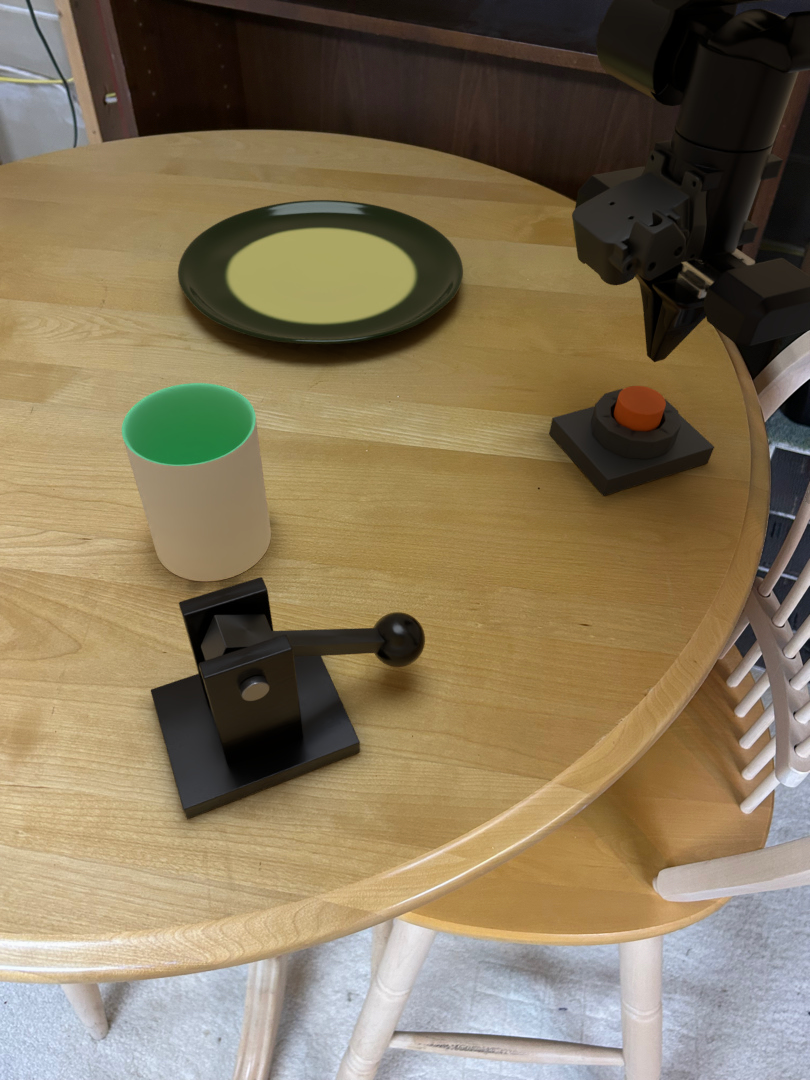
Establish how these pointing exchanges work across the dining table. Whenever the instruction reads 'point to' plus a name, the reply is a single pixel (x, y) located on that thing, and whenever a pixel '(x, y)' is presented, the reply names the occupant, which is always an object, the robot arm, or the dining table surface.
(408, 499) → the dining table surface
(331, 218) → the plate
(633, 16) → the robot arm
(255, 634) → the lever
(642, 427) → the button
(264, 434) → the dining table surface
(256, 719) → the switch
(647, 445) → the button box
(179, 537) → the mug
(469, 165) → the dining table surface
